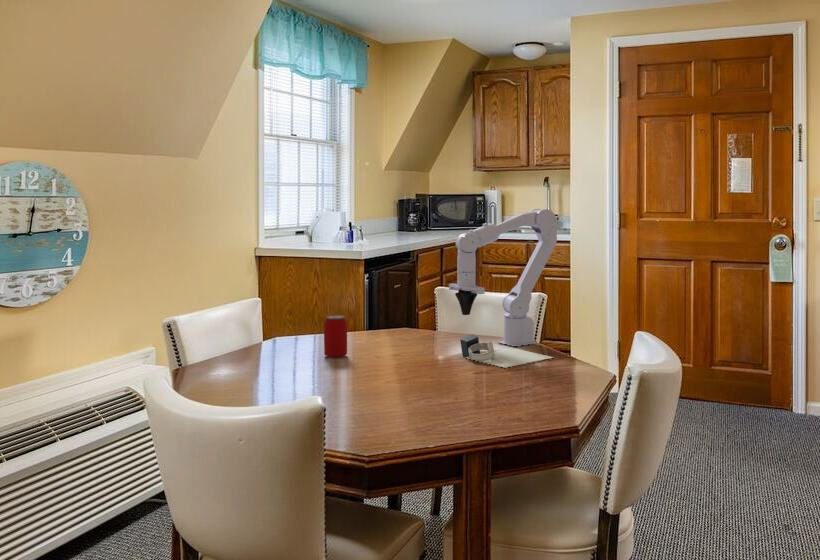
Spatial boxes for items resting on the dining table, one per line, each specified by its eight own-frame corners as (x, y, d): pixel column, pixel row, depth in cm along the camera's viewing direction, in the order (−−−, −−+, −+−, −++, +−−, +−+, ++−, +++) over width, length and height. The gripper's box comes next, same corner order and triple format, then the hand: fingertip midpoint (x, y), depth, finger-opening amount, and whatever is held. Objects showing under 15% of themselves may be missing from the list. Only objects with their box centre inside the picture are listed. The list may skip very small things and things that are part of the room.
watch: (479, 349, 221) (502, 359, 212) (457, 357, 217) (479, 369, 208) (477, 331, 219) (500, 341, 210) (455, 340, 216) (477, 351, 206)
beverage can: (349, 354, 221) (348, 314, 219) (344, 359, 214) (344, 318, 213) (326, 353, 221) (326, 314, 220) (322, 358, 215) (321, 318, 213)
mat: (513, 349, 227) (513, 348, 227) (553, 358, 214) (553, 357, 214) (465, 358, 215) (465, 357, 215) (505, 368, 202) (505, 366, 202)
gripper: (441, 270, 234) (441, 313, 236) (473, 274, 223) (472, 318, 224) (458, 269, 238) (457, 310, 240) (489, 273, 227) (489, 316, 229)
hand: (466, 314), depth 232 cm, fingers closed
